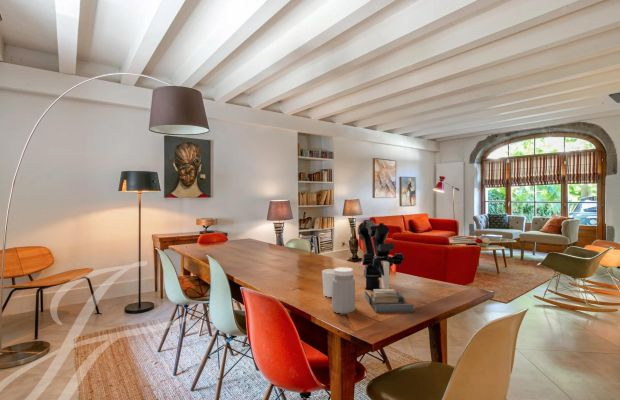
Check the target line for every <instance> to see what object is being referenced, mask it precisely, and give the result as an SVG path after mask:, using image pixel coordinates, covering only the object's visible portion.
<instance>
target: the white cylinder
mask: <svg viewBox="0 0 620 400" xmlns="http://www.w3.org/2000/svg"><path fill="white" fill-rule="evenodd" d="M334 269H335V268H326V269H322V270H321V276H322V290H323V293H322V294H323V296H324V297H325V296H327V297H326V298H330V297H332V279H333V278H334V275H335V274H334Z"/></svg>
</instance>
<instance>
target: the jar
mask: <svg viewBox="0 0 620 400" xmlns="http://www.w3.org/2000/svg"><path fill="white" fill-rule="evenodd" d="M333 269H334V274H335V275H334V278H333V279H332V298H331V301H332V302H331V308H332V310H333V312H334V313H335V312H336V313H335V314H337V313H340V314H339V315H348V314H349V313H352V312H354V311H355V310H356V280H355V279H354V269H353V268H351V267H347V266H344V267H343V266H339V267H335V268H333Z"/></svg>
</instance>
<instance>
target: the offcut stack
mask: <svg viewBox="0 0 620 400" xmlns="http://www.w3.org/2000/svg"><path fill="white" fill-rule="evenodd" d="M396 292H397V291H396V290H395V288H393V289H392V288H391V289H390V288H389V289H384V288H381V289H380V288H379V289H373V290H372V292H371V293H370V297H371V299H372V301H373V302H374V303H385V302H398V299H397V293H396Z"/></svg>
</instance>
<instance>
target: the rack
mask: <svg viewBox="0 0 620 400" xmlns="http://www.w3.org/2000/svg"><path fill="white" fill-rule="evenodd" d="M395 292H396V293H397V299H398V302H385V303H374V302H373V301H372V299H371V295H369V294H368V292H367V291H365V292H364V298H365V300H366V302H367V303H368V304H369V306H370V307H371V308H372V309H373V311H374V313H376V314H378V313H379V314H380V313H382V314H383V313H385V314H386V313H414V307H415V306H414V303H405V302H406V301H405V296H404V295H403V294H402V293H400V292H399V291H395Z"/></svg>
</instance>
